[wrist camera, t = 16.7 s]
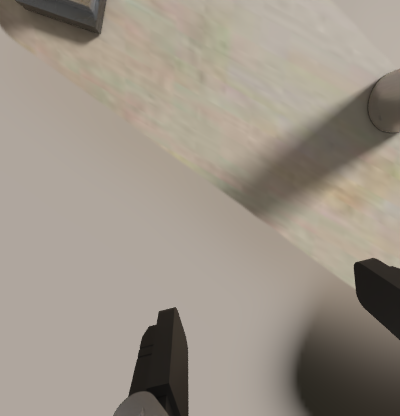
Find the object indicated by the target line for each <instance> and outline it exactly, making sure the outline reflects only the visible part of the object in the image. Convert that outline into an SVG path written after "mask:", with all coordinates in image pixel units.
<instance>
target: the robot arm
mask: <svg viewBox="0 0 400 416" xmlns="http://www.w3.org/2000/svg"><path fill="white" fill-rule="evenodd" d="M368 111H369V116H370V118H371V121H372V122H373V124H374V125H375V126H376V127H377V128H378V129H380V130H382V131H384V132H389V133H393V132H400V69H398V70H395V71H393V72H390V73H388V74H387V75H385V76H384V77H383V78H381V79H380V80H379V81H378V83H377V84H376V85H375V87H374V88H373V90H372V92H371V95H370V98H369V103H368ZM354 275H355V285H356V294H357V297H358V300H359V302H360V303H361V305H362V306H363V307H364V308H365V309H366V310H367V311H368V312H369V313H370V314H371V315H373V316H374V317H375V318H376V319H377V320H378V321H379V322H380V323H381V324H383V325H384V326H385V327H386V328H387V329H388V330H389V331H390V332H391V333H392V334H394V335H395V336H396V337H397V338H398V339H399V340H400V269H399V268H396V267H393V266H391V267H389V266H388V265H386V264H384V263H383V262H381V261H379V260H377V259H375V258H371V259H367V260H364V261H360V262H356V263H355V264H354ZM113 416H188V347H187V341H186V336H185V332H184V329H183V326H182V323H181V320H180V317H179V313H178V310H177V308H176V307H174V308H170V309H166V310H163V311H159V314H158V319H157V325H153V326H149V327H148V329H147V331H146V332H145V334H144V335H143V337H142V341H141V345H140V350H139V353H138V359H137V362H136V366H135V370H134V375H133V379H132V383H131V387H130V392H129V396H128V398H126V399H125V400H124V401H123V402H122V403H121V404H120V405H119V407H118V408H117V410H116V411H115V413H114V415H113Z"/></svg>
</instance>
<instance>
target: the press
mask: <svg viewBox="0 0 400 416" xmlns="http://www.w3.org/2000/svg"><path fill="white" fill-rule="evenodd" d="M16 1H17V2H18V3H19V4H20V5H21V6H23V7H24V8H25V9H27V10H30V11H33V12H36V13H39V14H42V15H45V16H48V17H51V18H54V19H57V20H60V21H63V22H66V23H68V24H71V25H74V26H77V27H80V28H83V29H86V30H89V31H92V32H95V33H98V34H101V28H102V23H103V17H104V11H105V5H106V0H16Z"/></svg>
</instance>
